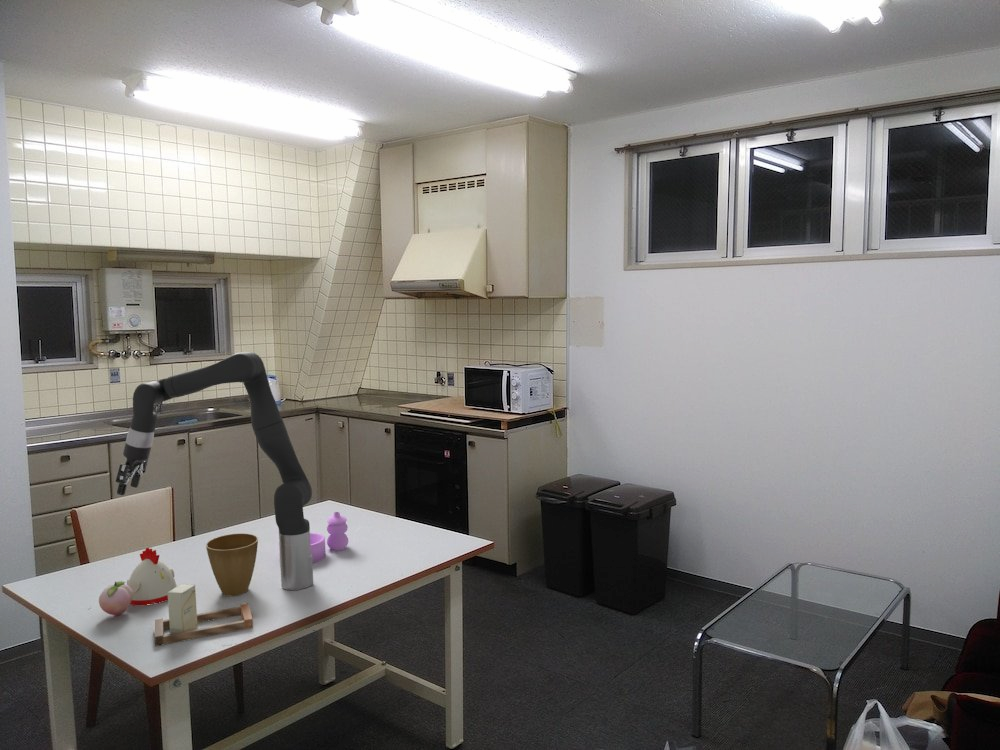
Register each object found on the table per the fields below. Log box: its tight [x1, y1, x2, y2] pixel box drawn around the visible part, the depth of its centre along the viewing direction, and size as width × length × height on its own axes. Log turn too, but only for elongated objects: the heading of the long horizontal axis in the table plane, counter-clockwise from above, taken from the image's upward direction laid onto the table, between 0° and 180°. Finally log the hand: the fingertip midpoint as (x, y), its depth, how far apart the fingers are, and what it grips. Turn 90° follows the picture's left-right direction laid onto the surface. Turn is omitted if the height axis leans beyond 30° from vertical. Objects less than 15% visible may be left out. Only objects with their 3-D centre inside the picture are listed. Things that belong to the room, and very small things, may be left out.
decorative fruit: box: [98, 580, 133, 617], centre depth 207 cm, size 9×8×10 cm
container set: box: [278, 511, 349, 564], centre depth 256 cm, size 25×15×13 cm, turn 132°
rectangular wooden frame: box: [154, 603, 254, 647], centre depth 198 cm, size 24×11×2 cm, turn 115°
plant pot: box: [205, 532, 259, 597], centre depth 223 cm, size 15×15×16 cm
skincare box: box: [167, 583, 199, 634], centre depth 196 cm, size 6×4×12 cm
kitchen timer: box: [126, 547, 177, 606], centre depth 220 cm, size 14×14×15 cm
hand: (127, 490), depth 232 cm, fingers open, 8 cm apart
